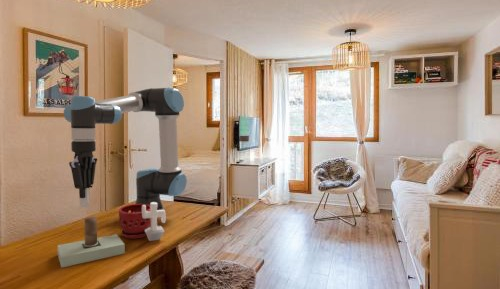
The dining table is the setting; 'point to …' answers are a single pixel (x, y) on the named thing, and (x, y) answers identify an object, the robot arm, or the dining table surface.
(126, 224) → the plant pot
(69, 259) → the board
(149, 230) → the figurine
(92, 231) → the peg
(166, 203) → the dining table surface
